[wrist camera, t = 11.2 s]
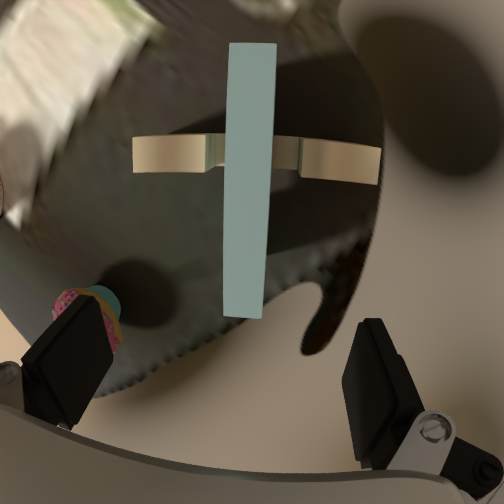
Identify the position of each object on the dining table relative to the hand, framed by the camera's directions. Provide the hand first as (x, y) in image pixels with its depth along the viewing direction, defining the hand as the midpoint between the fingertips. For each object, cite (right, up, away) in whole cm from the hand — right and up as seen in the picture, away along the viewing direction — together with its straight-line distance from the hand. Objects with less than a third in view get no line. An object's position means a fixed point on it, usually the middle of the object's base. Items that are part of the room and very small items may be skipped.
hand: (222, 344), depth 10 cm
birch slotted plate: (+2, +12, +14) cm, 19 cm away
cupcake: (-16, -3, +22) cm, 27 cm away
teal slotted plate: (+1, +10, +15) cm, 18 cm away
